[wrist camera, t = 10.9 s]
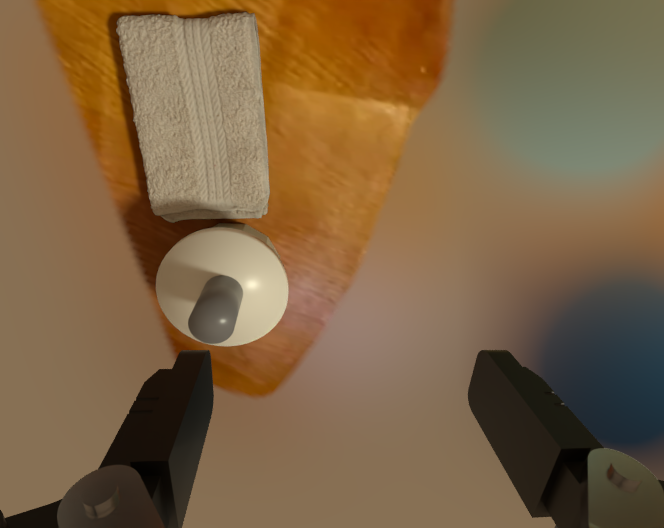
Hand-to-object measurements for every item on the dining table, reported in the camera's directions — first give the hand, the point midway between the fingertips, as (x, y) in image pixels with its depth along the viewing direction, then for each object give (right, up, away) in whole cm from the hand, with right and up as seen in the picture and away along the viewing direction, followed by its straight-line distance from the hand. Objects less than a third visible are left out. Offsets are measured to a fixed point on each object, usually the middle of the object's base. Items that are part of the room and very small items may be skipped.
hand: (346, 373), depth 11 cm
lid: (-11, +1, +25) cm, 27 cm away
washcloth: (-13, +17, +25) cm, 33 cm away
